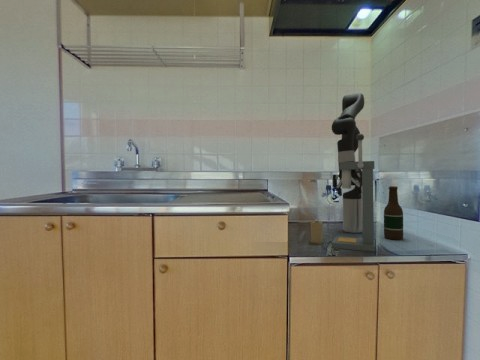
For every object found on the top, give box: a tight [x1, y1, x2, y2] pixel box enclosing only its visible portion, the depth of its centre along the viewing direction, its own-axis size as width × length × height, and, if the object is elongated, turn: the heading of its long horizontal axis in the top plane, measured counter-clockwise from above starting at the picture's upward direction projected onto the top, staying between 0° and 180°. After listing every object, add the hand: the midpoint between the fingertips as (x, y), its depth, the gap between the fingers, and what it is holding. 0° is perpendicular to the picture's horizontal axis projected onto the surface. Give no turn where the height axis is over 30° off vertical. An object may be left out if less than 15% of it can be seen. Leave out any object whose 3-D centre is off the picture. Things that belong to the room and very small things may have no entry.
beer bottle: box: [383, 185, 404, 241], centre depth 123 cm, size 8×8×24 cm
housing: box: [310, 218, 324, 245], centre depth 118 cm, size 4×4×10 cm
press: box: [331, 133, 376, 253], centre depth 111 cm, size 13×16×46 cm
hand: (349, 195), depth 125 cm, fingers open, 8 cm apart
